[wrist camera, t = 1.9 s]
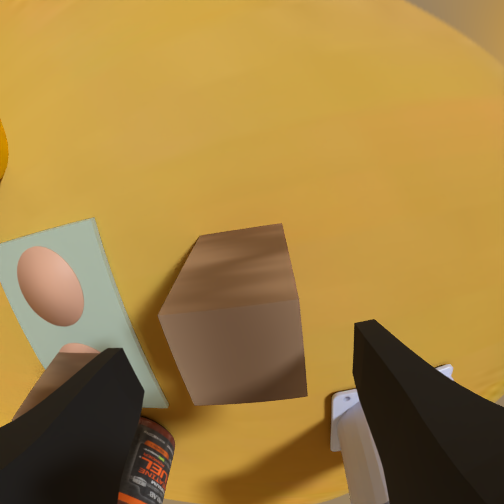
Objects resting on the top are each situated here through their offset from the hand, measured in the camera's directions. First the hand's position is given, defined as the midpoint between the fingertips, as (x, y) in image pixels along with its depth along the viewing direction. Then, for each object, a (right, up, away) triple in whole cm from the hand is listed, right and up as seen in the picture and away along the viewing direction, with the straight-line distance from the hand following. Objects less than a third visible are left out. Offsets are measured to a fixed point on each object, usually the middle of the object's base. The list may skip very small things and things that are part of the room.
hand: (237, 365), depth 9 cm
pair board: (-12, -2, +9) cm, 15 cm away
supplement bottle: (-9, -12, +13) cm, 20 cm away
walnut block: (0, +3, +7) cm, 7 cm away
